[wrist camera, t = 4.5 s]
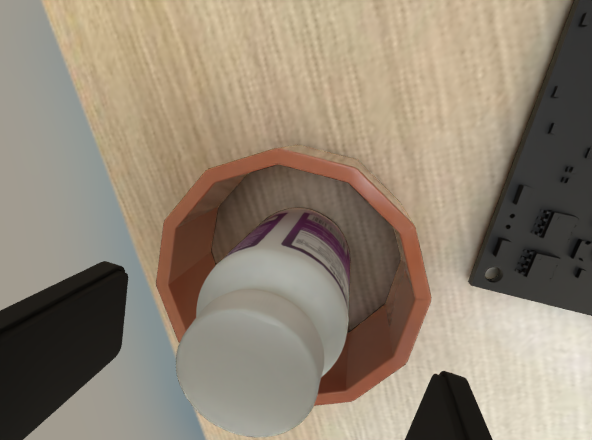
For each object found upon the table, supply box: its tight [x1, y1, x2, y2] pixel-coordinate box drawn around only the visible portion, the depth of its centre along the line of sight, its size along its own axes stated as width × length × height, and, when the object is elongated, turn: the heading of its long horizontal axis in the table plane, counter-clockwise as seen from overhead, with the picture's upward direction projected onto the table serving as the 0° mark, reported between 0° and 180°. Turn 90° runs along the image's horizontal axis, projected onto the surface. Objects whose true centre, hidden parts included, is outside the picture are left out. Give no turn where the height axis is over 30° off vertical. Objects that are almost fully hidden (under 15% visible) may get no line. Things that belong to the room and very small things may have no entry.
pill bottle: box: [176, 208, 350, 437], centre depth 13 cm, size 5×5×10 cm
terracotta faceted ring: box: [156, 145, 431, 406], centre depth 16 cm, size 11×11×4 cm
